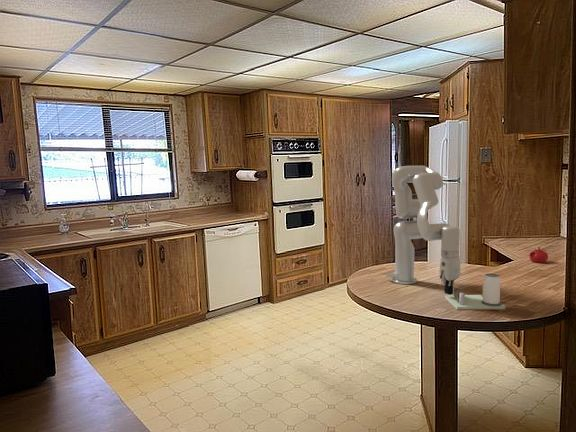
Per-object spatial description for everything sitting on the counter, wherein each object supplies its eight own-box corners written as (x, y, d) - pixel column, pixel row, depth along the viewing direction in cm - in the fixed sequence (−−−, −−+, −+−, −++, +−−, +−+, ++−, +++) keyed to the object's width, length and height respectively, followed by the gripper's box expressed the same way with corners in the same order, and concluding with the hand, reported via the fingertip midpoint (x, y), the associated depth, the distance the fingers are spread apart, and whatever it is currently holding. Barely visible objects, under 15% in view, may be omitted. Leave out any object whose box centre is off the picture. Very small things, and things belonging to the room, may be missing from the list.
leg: (463, 302, 188) (463, 293, 188) (457, 302, 189) (458, 293, 188) (457, 294, 199) (458, 286, 199) (452, 294, 200) (452, 285, 199)
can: (480, 300, 191) (480, 273, 189) (494, 299, 191) (495, 272, 190) (487, 305, 184) (488, 277, 183) (502, 304, 185) (503, 276, 183)
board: (456, 309, 184) (457, 292, 183) (444, 297, 200) (445, 282, 199) (505, 309, 183) (505, 292, 183) (489, 297, 199) (489, 281, 198)
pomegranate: (548, 261, 265) (549, 246, 264) (547, 264, 257) (548, 249, 256) (529, 259, 270) (530, 244, 269) (528, 262, 262) (529, 247, 261)
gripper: (448, 257, 187) (446, 299, 189) (466, 252, 196) (465, 292, 198) (432, 255, 193) (431, 295, 195) (451, 250, 202) (450, 288, 204)
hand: (448, 293), depth 197 cm, fingers closed
